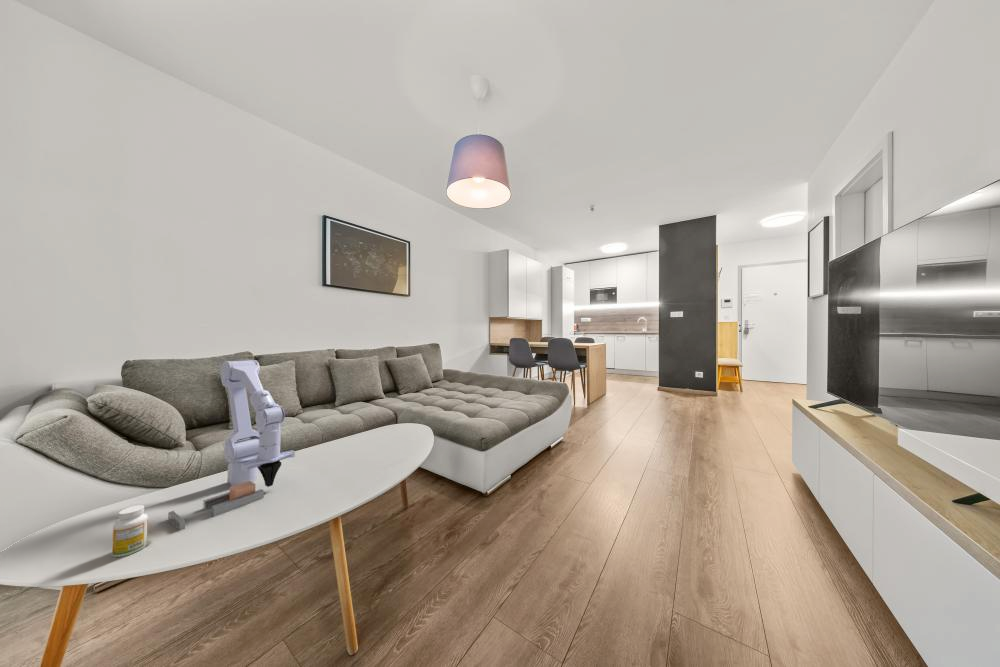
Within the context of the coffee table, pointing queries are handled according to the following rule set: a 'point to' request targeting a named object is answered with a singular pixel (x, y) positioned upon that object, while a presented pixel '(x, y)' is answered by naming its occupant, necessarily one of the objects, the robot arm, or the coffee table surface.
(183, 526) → the chute
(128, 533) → the supplement bottle
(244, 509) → the coffee table surface
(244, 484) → the block
